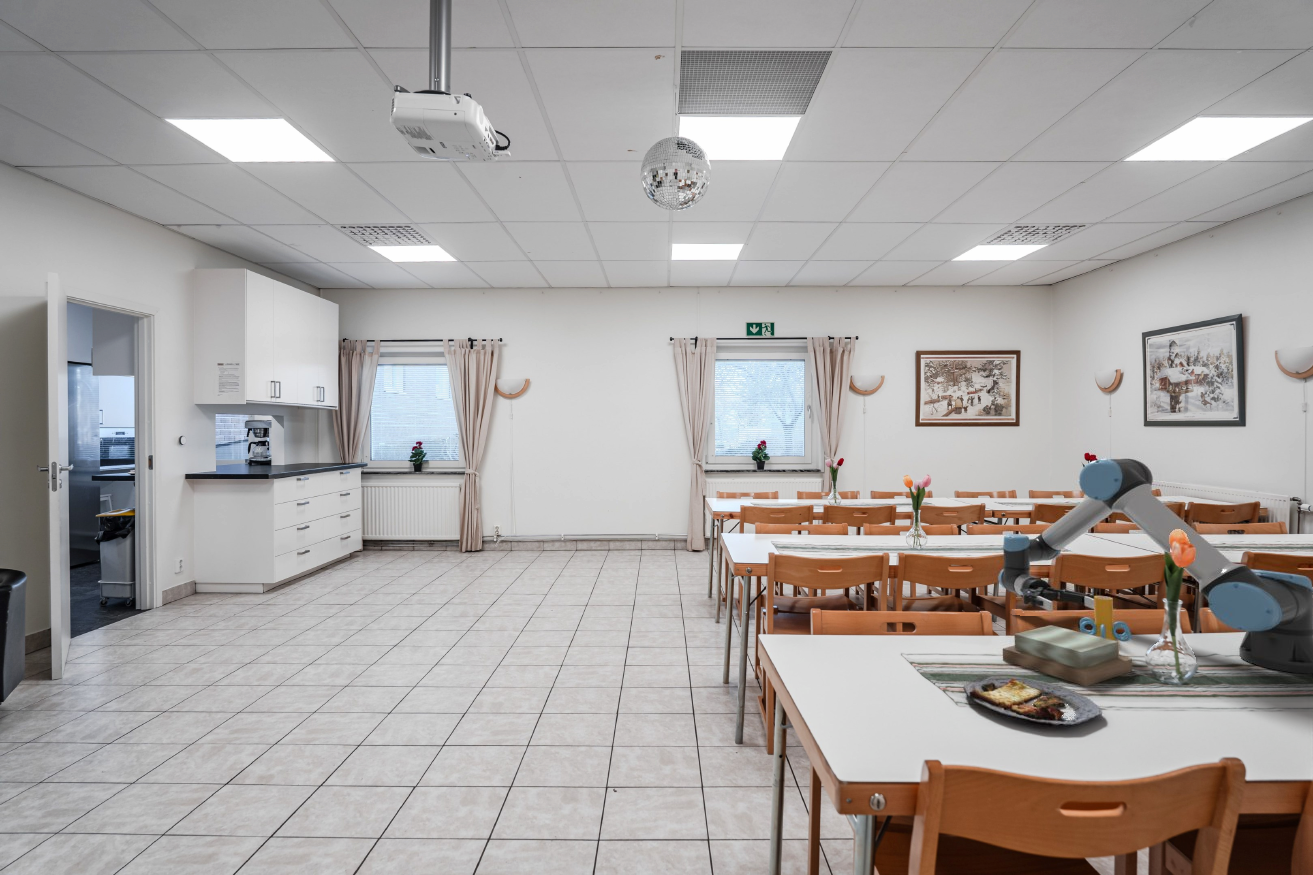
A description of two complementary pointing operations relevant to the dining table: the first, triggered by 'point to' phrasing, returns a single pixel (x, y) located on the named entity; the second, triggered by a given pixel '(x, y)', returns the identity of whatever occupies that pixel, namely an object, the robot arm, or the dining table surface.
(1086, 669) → the plinth
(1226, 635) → the dining table surface
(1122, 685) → the dining table surface
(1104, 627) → the upright yellow plank
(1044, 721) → the food plate
